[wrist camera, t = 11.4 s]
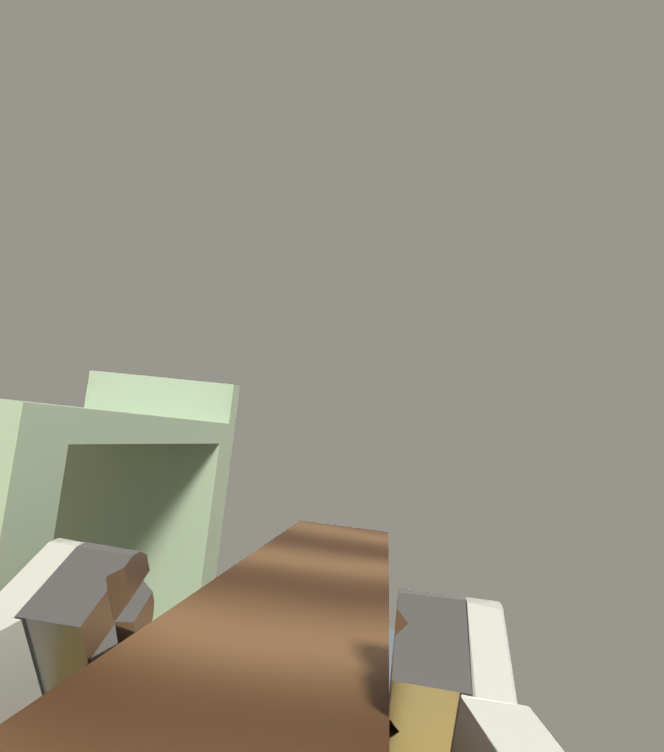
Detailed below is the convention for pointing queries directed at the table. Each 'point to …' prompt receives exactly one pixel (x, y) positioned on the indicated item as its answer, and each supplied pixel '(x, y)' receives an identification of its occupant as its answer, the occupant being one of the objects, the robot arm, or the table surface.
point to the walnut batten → (241, 662)
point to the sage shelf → (121, 476)
